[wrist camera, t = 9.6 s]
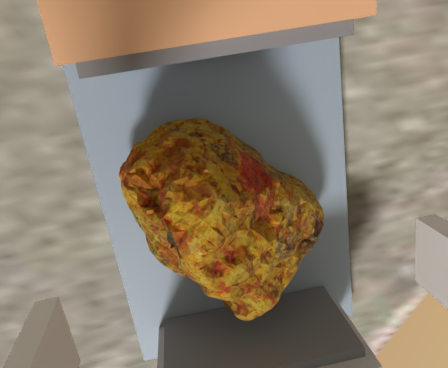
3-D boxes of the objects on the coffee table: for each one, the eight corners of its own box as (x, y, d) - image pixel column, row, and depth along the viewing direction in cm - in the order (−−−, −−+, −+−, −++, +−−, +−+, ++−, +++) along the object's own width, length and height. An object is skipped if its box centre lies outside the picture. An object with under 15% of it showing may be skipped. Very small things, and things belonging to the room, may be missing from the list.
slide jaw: (94, 73, 21) (59, 82, 14) (79, 12, 20) (34, -9, 13) (313, 38, 22) (376, 31, 15) (309, -22, 21) (375, -58, 14)
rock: (260, 126, 27) (367, 234, 22) (190, 211, 30) (272, 322, 25) (145, 73, 18) (287, 239, 13) (57, 203, 20) (150, 377, 16)
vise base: (145, 348, 28) (136, 460, 20) (50, -2, 20) (-22, -35, 13) (345, 305, 29) (409, 394, 21) (326, -42, 22) (413, -95, 14)
